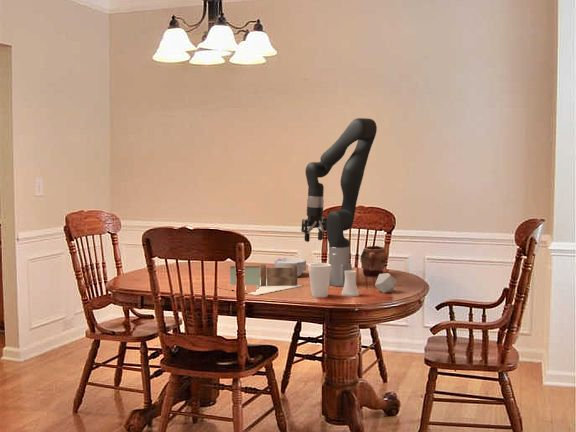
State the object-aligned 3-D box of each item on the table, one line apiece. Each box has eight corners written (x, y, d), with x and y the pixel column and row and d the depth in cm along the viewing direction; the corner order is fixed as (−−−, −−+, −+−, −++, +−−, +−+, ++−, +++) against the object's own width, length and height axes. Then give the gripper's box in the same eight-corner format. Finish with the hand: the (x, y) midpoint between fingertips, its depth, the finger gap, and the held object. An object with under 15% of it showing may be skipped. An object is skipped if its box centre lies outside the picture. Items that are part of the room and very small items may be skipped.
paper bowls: (306, 278, 326) (306, 261, 325) (274, 278, 326) (273, 262, 325) (306, 273, 341) (306, 257, 340) (275, 273, 341) (275, 257, 340)
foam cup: (312, 298, 281) (311, 267, 279) (305, 294, 289) (305, 263, 288) (334, 297, 283) (334, 265, 282) (327, 293, 292) (326, 262, 291)
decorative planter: (384, 280, 320) (385, 250, 318) (358, 279, 322) (358, 249, 321) (387, 272, 339) (387, 244, 338) (362, 272, 341) (362, 244, 340)
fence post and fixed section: (297, 284, 309) (297, 264, 308) (297, 285, 306) (297, 265, 305) (260, 285, 309) (260, 264, 308) (260, 286, 306) (260, 265, 305)
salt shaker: (362, 294, 288) (362, 270, 287) (352, 297, 282) (352, 273, 281) (348, 292, 293) (348, 269, 292) (337, 295, 287) (337, 271, 286)
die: (387, 290, 299) (374, 273, 298) (403, 282, 294) (389, 265, 293) (381, 300, 293) (368, 283, 292) (397, 293, 288) (383, 275, 286)
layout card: (302, 286, 307) (302, 285, 307) (255, 295, 287) (255, 294, 287) (262, 279, 325) (262, 278, 325) (216, 287, 306) (216, 286, 306)
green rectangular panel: (259, 284, 308) (259, 265, 307) (259, 285, 307) (259, 265, 306) (230, 284, 308) (230, 265, 307) (230, 285, 307) (230, 266, 306)
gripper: (310, 207, 309) (308, 243, 311) (331, 205, 319) (330, 240, 321) (298, 205, 314) (296, 241, 316) (320, 204, 324) (318, 238, 326)
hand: (313, 240), depth 319 cm, fingers open, 8 cm apart
